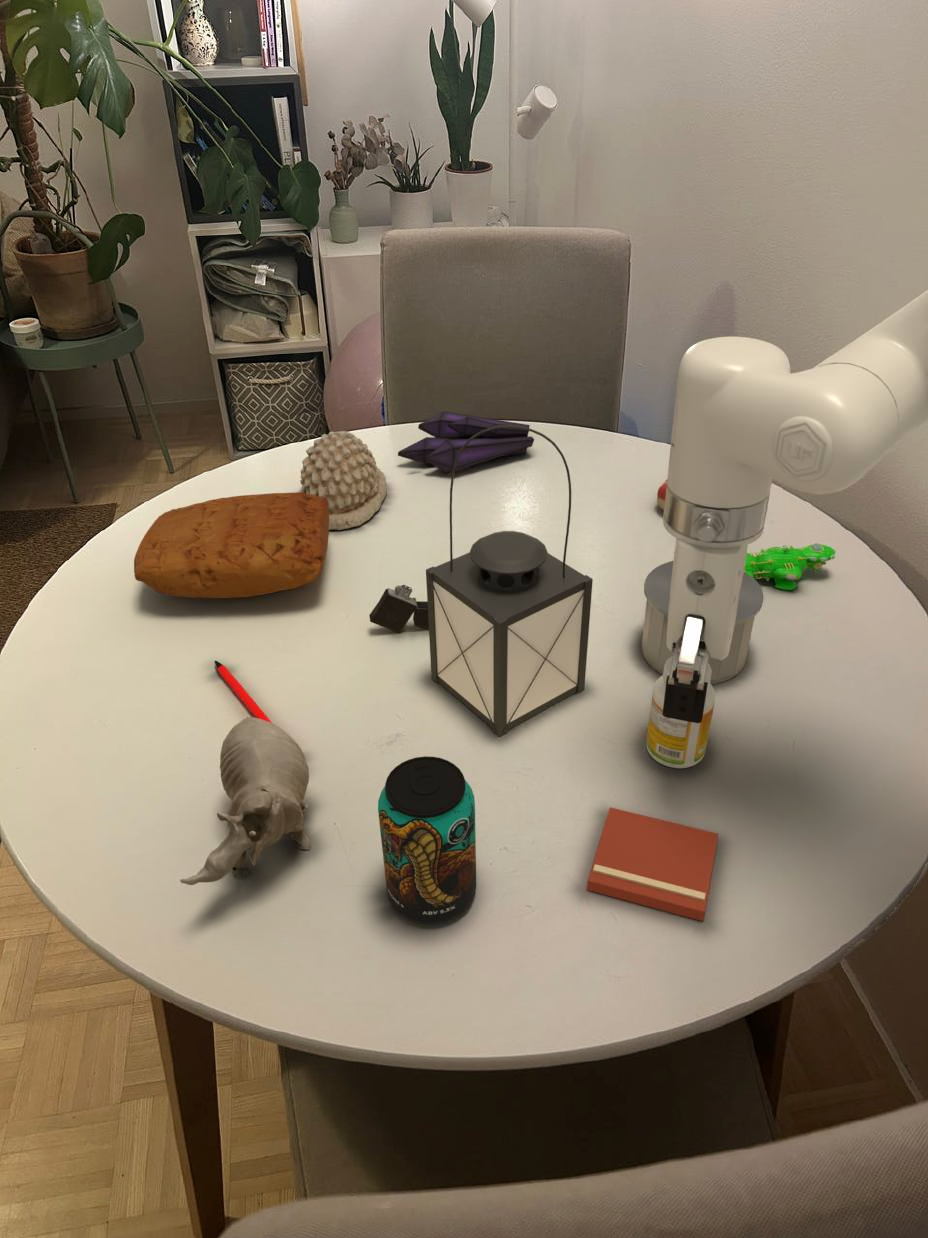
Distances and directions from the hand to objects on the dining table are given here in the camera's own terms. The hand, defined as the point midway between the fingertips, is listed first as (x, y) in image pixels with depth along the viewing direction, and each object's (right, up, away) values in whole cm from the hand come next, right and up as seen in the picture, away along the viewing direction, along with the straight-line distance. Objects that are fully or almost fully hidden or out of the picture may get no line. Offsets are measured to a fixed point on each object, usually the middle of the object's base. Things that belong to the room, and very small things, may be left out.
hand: (690, 682), depth 79 cm
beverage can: (-22, -16, -7) cm, 28 cm away
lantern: (-15, -1, +13) cm, 20 cm away
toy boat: (+10, +21, +42) cm, 48 cm away
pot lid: (+4, +8, +12) cm, 15 cm away
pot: (+4, +2, +17) cm, 17 cm away
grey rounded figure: (-36, -13, -3) cm, 39 cm away
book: (-4, -14, -6) cm, 16 cm away
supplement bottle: (0, -7, +5) cm, 8 cm away
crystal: (-19, +29, +54) cm, 64 cm away
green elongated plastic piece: (+14, +10, +27) cm, 33 cm away
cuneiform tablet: (-46, +10, +30) cm, 56 cm away
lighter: (-26, +4, +21) cm, 34 cm away
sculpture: (-36, +21, +45) cm, 62 cm away
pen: (-40, -4, +10) cm, 42 cm away
